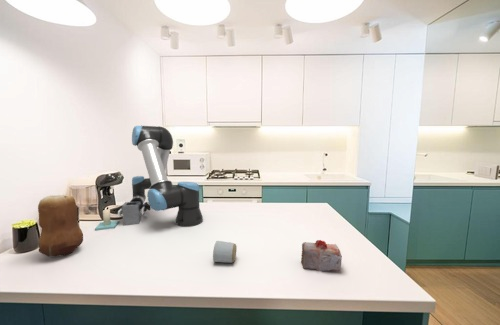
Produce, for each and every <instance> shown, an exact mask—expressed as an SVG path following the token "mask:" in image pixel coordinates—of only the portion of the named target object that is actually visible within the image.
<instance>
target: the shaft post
mask: <svg viewBox="0 0 500 325" xmlns="http://www.w3.org/2000/svg"><path fill="white" fill-rule="evenodd" d="M102 219H103V220H102V221H103V222H99V224H98V225H96V227H95V228H94V231H102V230H110V229H111V230H113V229H115V228H116V227H117V225H118V224H119V222H120V221H119V220H111V210H110V209H109V208H108V209H104V210H102Z"/></svg>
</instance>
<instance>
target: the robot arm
mask: <svg viewBox="0 0 500 325" xmlns="http://www.w3.org/2000/svg"><path fill="white" fill-rule="evenodd" d="M131 144H132V145H133V146H135V147H136V146H137V149H138V150H139V151H140V152H141V154H142V156H143V160H144V164H145V167H146V171H147V174H148V177H149V178H145V176H143V175H140V176H139V175H137V176H133V177H132V179H131V186H132V187H131V188H132V199H131V200H130V201H129V202H136V201H140V204H141V216H142V215H144V214H145V212H147V211H150V210H151V208H152V210H154V211H156V212H159V211H165V210H169V209H173V208H178V211H177V213H176V216H175V225H177V226H180V227H193V226H197V225H199V224H201V223H202V222H204V221H203V220H204V218H203V213H202V211H201V208H200V186H199V183H197V182H194V181H193V182H192V181H178V182H177V185H173V183H172V181H171V180H169V179H168V176H167V174H166V173H167V172H166V169H167V166H168V161H169V157H170V152H171V150H172V149H173V146H174V140H173V136H172V134H171V132H170V131H169V130H168V129H166V128H165V127H162V126H157V125H156V126H154V125H152V126H151V125H135V126H134V127H133V129H132V132H131ZM146 190H148V191H147V197H146V192H145V191H146ZM146 198H147V201H146ZM145 201H146V202H145ZM122 206H123V204H122V205H120V206H118V207H116V208H115V209H114V213H115V214H117V217H118V218H119V217H121V216H122V215H123V214H122Z"/></svg>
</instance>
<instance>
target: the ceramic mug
mask: <svg viewBox="0 0 500 325" xmlns="http://www.w3.org/2000/svg"><path fill="white" fill-rule="evenodd" d="M236 257H237V243H234V242H230V241H221V240H216V241H215V244H214V246H213V253H212V260H213V262H214V263H229V264H230V263H234V262H235V261H236Z"/></svg>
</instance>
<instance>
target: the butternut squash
mask: <svg viewBox="0 0 500 325" xmlns="http://www.w3.org/2000/svg"><path fill="white" fill-rule="evenodd" d="M37 212H38V225H39V227H40V229H41V233H40V235H39V238H38V252H39V253H40V254H42V255H44V256H47V257H50V258H51V257H52V258H55V257H56V258H57V257H60V256H61V257H62V256H63V257H65V256H68V255H70V254H72V253H73V252H74V251H76V249H78V248H79V247H80V246H81V245H82V244H83V241H84V234H83V231H82V229H81V228H80V226H79V224H78V208H77V203H76V199H75V197H73V196H72V195H70V194H61V195H60V194H59V195H48V196H45V197H43V198H42V199H40V201H39V203H38V205H37Z"/></svg>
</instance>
